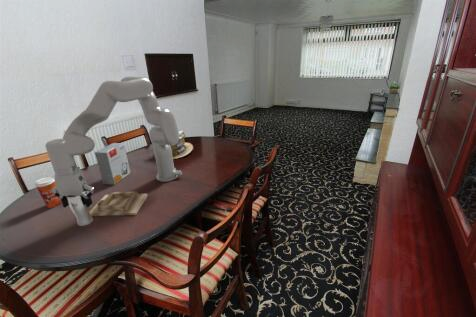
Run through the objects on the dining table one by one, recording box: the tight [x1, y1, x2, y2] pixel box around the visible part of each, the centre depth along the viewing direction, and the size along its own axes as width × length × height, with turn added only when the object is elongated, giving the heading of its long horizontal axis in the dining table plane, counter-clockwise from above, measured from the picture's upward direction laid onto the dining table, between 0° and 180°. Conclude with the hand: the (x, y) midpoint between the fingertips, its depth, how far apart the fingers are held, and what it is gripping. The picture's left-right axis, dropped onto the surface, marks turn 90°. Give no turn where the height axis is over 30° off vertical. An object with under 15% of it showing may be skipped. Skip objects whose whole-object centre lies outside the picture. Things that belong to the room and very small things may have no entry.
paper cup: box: [34, 176, 62, 209], centre depth 115 cm, size 8×8×14 cm
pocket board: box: [90, 191, 148, 217], centre depth 116 cm, size 22×16×4 cm
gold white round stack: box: [171, 130, 194, 160], centre depth 173 cm, size 25×25×17 cm
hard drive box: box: [94, 142, 131, 186], centre depth 138 cm, size 16×8×20 cm, turn 168°
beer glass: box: [66, 193, 94, 227], centre depth 102 cm, size 7×7×15 cm
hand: (78, 205), depth 101 cm, fingers open, 9 cm apart
